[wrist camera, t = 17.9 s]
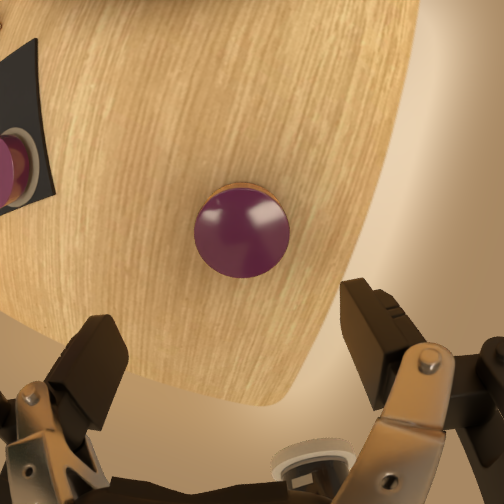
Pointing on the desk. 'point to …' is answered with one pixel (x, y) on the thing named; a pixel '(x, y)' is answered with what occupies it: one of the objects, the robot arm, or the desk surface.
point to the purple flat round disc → (12, 169)
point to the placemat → (25, 120)
